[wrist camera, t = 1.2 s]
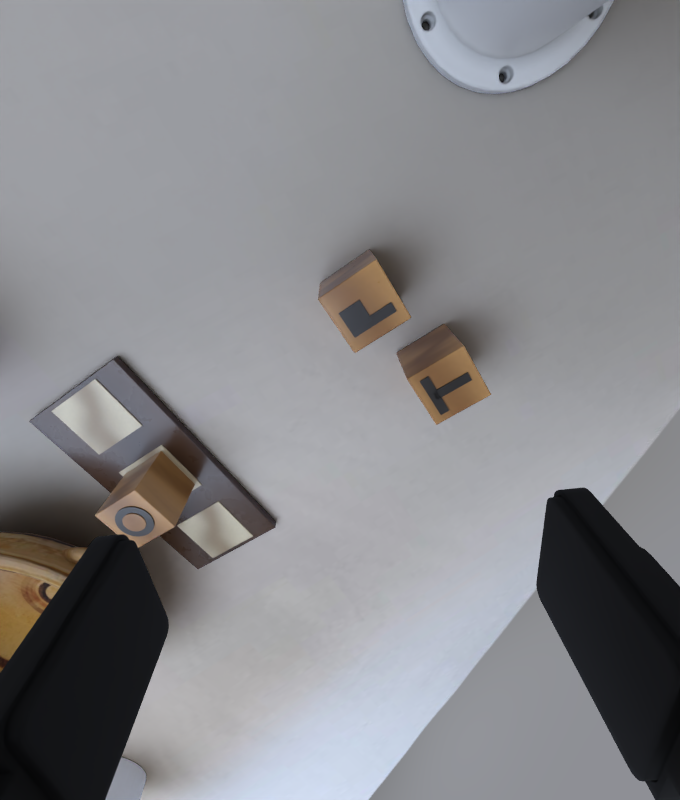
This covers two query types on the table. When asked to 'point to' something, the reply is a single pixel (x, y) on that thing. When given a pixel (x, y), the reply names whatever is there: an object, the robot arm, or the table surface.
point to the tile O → (147, 500)
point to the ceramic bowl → (29, 582)
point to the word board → (140, 440)
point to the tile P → (362, 301)
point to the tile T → (442, 374)
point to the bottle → (127, 781)
